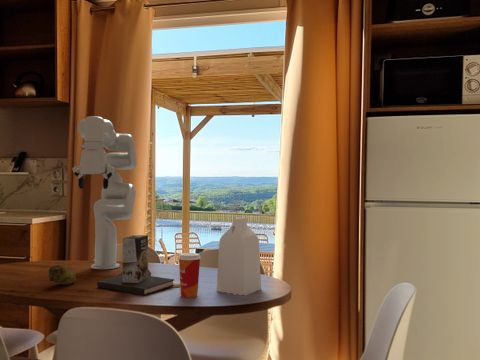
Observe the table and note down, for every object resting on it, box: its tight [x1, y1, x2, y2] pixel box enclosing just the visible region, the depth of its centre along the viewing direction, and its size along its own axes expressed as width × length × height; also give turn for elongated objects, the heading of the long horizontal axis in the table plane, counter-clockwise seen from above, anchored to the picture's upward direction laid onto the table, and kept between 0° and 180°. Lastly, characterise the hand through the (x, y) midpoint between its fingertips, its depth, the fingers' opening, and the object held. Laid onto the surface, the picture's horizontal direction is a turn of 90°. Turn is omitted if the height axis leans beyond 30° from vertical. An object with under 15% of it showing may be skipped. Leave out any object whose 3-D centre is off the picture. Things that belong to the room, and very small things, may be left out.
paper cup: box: [177, 252, 202, 299], centre depth 143 cm, size 8×8×14 cm
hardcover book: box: [96, 275, 175, 296], centre depth 155 cm, size 16×23×2 cm
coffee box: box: [122, 234, 149, 283], centre depth 155 cm, size 9×6×16 cm
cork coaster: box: [170, 281, 180, 289], centre depth 159 cm, size 8×8×1 cm
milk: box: [216, 217, 262, 296], centre depth 153 cm, size 12×12×26 cm
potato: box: [47, 264, 77, 286], centre depth 158 cm, size 8×13×8 cm, turn 153°
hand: (93, 188), depth 172 cm, fingers open, 9 cm apart
